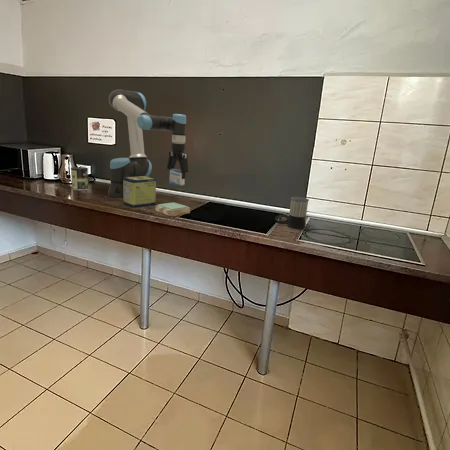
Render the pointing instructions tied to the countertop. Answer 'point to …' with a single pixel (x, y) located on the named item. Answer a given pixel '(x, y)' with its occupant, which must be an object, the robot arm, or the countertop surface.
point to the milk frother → (295, 213)
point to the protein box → (139, 191)
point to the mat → (172, 206)
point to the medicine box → (175, 177)
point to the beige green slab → (172, 211)
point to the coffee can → (79, 178)
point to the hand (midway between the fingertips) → (176, 182)
